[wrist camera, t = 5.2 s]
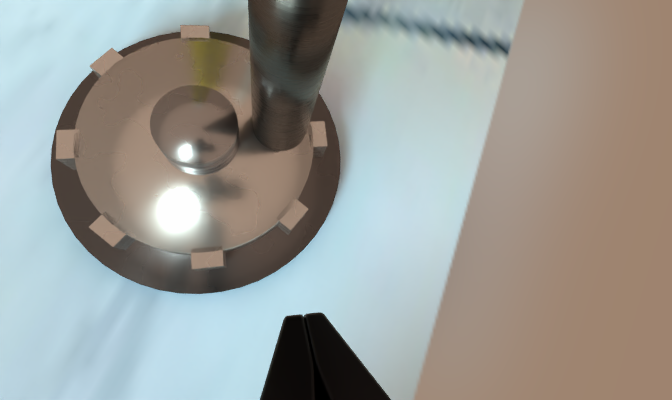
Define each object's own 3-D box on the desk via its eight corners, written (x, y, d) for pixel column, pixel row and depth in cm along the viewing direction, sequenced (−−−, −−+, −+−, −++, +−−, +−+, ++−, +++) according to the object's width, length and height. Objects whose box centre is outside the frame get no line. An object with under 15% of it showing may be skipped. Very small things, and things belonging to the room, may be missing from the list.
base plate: (376, 228, 20) (404, 214, 16) (115, 344, 16) (74, 360, 13) (279, 15, 21) (284, -41, 18) (22, 81, 18) (-39, 28, 14)
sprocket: (362, 130, 19) (499, -73, 8) (231, 320, 16) (178, 390, 5) (182, 4, 19) (80, -382, 8) (12, 175, 16) (-538, -77, 5)
